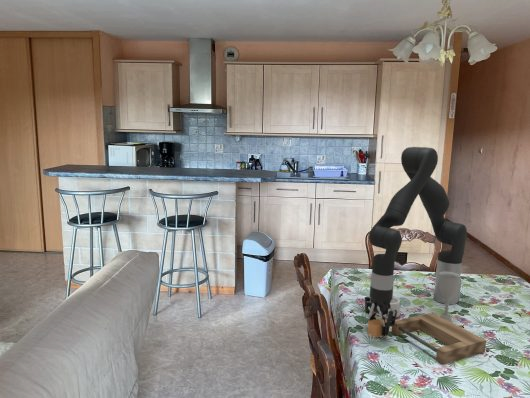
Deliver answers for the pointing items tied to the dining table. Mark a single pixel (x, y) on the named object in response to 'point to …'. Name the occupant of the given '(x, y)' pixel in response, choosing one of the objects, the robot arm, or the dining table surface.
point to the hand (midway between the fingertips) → (378, 331)
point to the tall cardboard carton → (375, 327)
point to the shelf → (442, 336)
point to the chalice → (448, 289)
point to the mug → (394, 306)
